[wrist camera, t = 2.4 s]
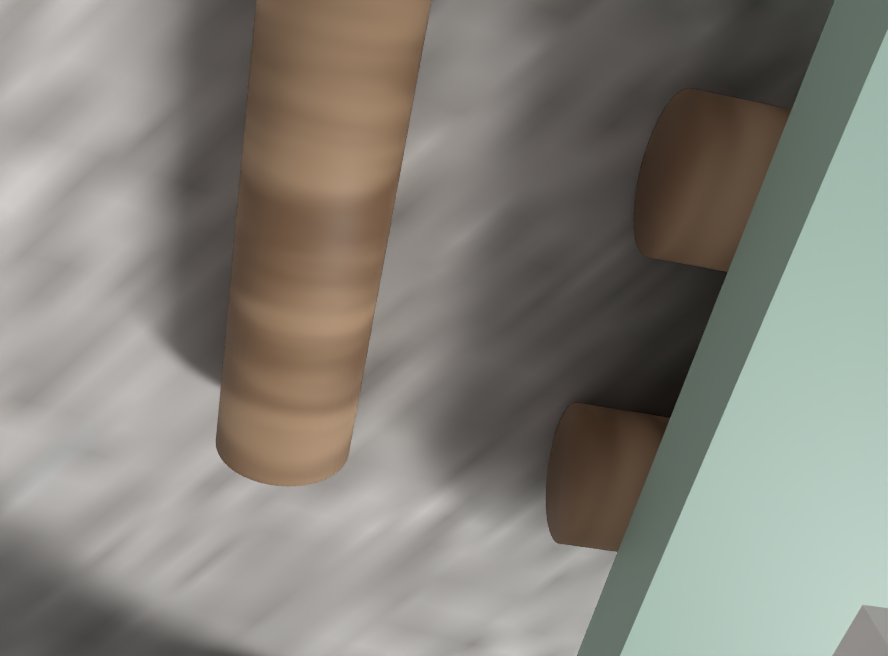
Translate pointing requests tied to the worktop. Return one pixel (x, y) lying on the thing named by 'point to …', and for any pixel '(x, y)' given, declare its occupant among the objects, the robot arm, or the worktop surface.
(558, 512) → the roller bed
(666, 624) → the slab
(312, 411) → the roller
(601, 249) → the worktop surface
